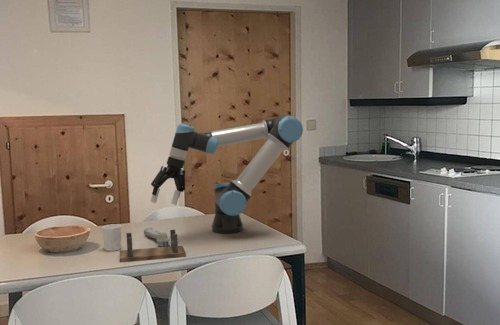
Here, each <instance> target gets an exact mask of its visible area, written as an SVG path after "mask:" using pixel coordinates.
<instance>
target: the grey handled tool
mask: <svg viewBox="0 0 500 325" xmlns="http://www.w3.org/2000/svg"><path fill="white" fill-rule="evenodd" d="M143 234H144V235H145V236H146V237H147V238H151V239H152V238H153V239H156V243H157V246H158V247H170V242H171V238H168V232H165V231H162V232H161V231H159V230H155V229H154V228H153V227H147V228H145V229H144V230H143Z"/></svg>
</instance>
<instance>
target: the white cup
mask: <svg viewBox="0 0 500 325" xmlns="http://www.w3.org/2000/svg"><path fill="white" fill-rule="evenodd" d="M101 229H102V230H101V231H102V240H103V246H104V247H103V248H104V251H106V252H115V251H120V250H121V248H122V225H121V224H119V223H118V224H117V223H116V224H114V223H113V224H106V225H103V226H102V228H101Z"/></svg>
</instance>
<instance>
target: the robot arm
mask: <svg viewBox="0 0 500 325" xmlns="http://www.w3.org/2000/svg"><path fill="white" fill-rule="evenodd" d="M303 132H304V128H303V123H302V122H301V121H300V120H299V119H298V118H296V117H295V116H293V115H279V116H276V117H272V118H269V119H264V120H262V121H261V122H257V123H253V124H247V125H246V124H245V125H242V126H241V125H240V126H237V127H235V126H234V127H231V128H225V129H224V128H223V129H217V130H214V131H209V132H208V131H207V132H197V131H195V127H194V126H192V125H188V124H186V123H179V124H178V125H177V128H176V131H175V134H174V137H173V140H172V143H171V147H170V151H169V156H168V158H167V161H166V165H167V166H163V165H162V166H160V170H159V171H158V172H157V174H156V176H155V177H154V179H153V180H152V181H151V183H150V186H152V189H153V190H152V192H151V194H152V195H151V199H150V203H153V204H157V201H158V197H159V193H160V187H161V186H162V185H164V183H165V182H166V181H167V180H169V179H173V181H174V185H175V187H176V188H175V189H174V192H173V196H172V199H171V205H175V206H176V205H177V204H178V201H179V198H180V196H181V193H183V192H184V191H185V190H186V181H185V180H186V179H185V177H186V176H185V175H186V170H184V169H183V168H184V166H185V160H186V159H187V157H188V156H187V155H188V152H189V149H193V150H197V151H199V152H203V153H206V154H210V155H214V154H215V153H216V152H217V149H218V147H222V146H227V145H234V144H239V143H245V142H251V141H255V140H261V139H264V140H266V141H265V142H264V144H263V145H261V148H259V150H258V151H257V153H256V154H255V155H254V157H253V158H252V159H251V161H250V162H249V163H248V164H247V165H246V167H245V168H244V169H243V171H242V172H241V173H240V175H239V176H238V177H237V179H235V180H231V181H230V182H224V183H223V182H222V183H221V182H220V183H216V184H214V189H213V192H214V217H213V221H212V224H211V230H212V232H214V233H218V234H234V233H239V232H242V231H243V230H244V224H243V221H242V219H241V216H240V215H241V214H242V213H243V212H244V211H245V210H246V208H247V203H248V202H249V200H250V199H251V197H252V191H253V190H254V188H255V187H256V185H257V184H258V183H259V182H260V181H261V179H262V178H263V176H264V175H265V174H266V172H268V170H269V169H270V168H271V166H272V165H273V163H275V161H276V160H277V159H278V158H279V156H280V155H281V154H282V153H283V151H288V150H289V149H290V147H291V146H292V145H293V144H294V143H295V142H298V140H300V138H301V137H302V135H303Z"/></svg>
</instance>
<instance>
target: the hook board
mask: <svg viewBox="0 0 500 325" xmlns="http://www.w3.org/2000/svg"><path fill="white" fill-rule="evenodd" d="M169 232H170V235H169V236H170V245H169V246H164V247H161V246H160V247H159V246H158V247H148V248H147V247H146V248H136V249H133V237H132V235H133V234H132V232H126V249H123V250H121V249H119V263H126V262H128V263H129V262H138V261H151V260H160V259H173V258H183V257H187V253H186V250H185V248H184V246H183V245H178V233H176V229H170V231H169Z"/></svg>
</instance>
